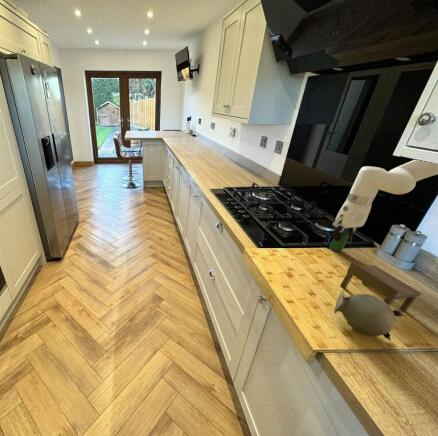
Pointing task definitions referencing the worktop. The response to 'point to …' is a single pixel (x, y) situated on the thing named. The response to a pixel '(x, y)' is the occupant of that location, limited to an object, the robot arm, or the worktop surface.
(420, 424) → the worktop surface
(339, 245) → the bottle
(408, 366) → the worktop surface
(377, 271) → the rack
